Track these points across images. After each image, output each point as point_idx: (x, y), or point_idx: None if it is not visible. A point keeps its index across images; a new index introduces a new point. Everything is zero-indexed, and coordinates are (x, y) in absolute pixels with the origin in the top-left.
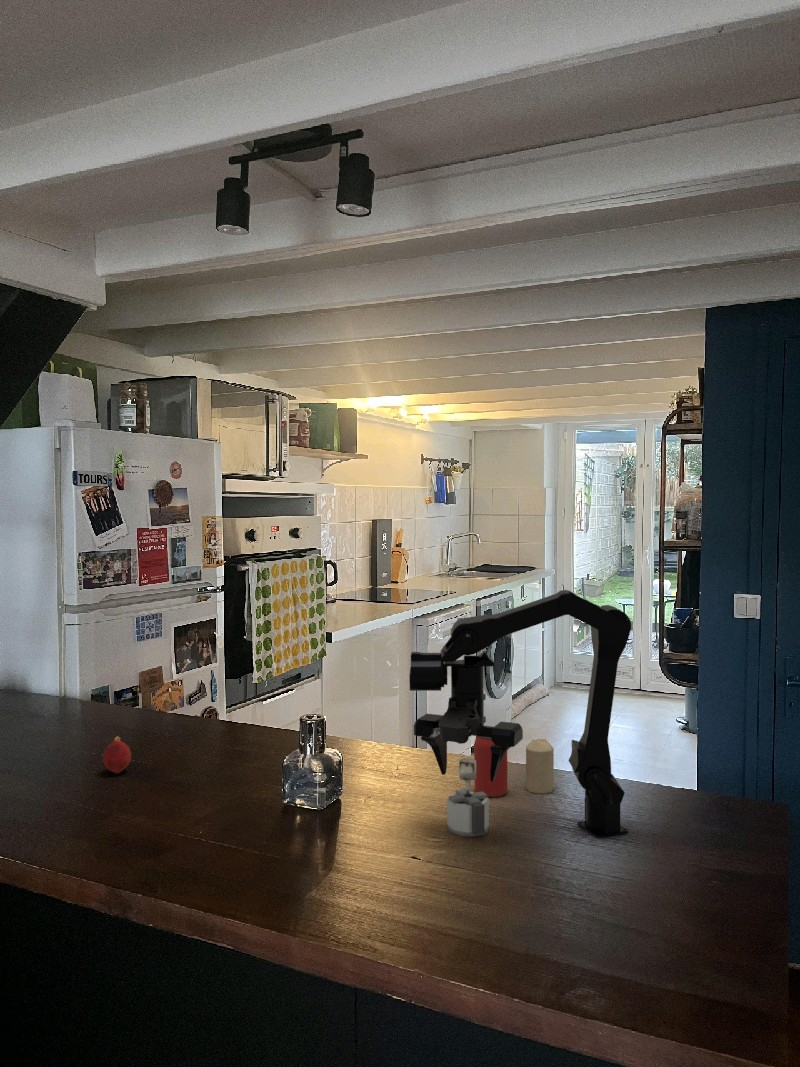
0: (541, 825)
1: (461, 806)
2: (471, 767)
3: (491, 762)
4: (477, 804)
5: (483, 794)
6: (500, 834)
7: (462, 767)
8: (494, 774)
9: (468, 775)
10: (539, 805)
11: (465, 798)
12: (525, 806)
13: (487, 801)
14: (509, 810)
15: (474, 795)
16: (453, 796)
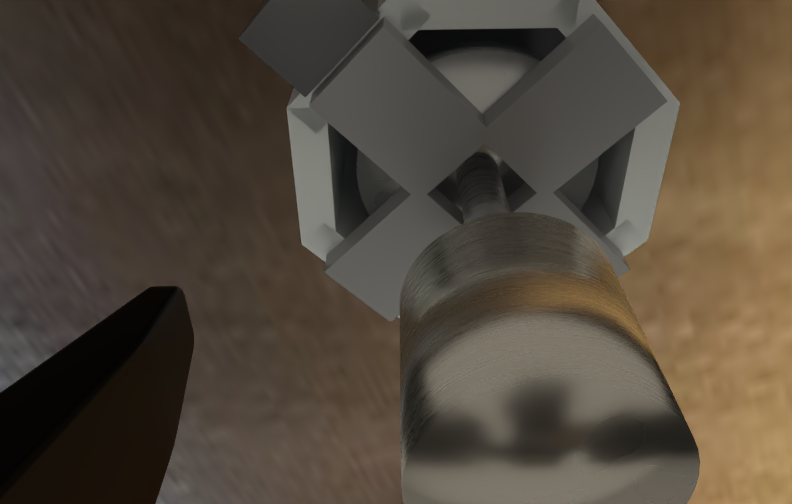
0: (80, 294)
1: None
2: (439, 364)
3: (6, 476)
4: (312, 27)
5: (354, 268)
6: (220, 81)
7: (595, 328)
8: (77, 341)
9: (473, 263)
10: (220, 483)
11: (485, 125)
12: (274, 456)
13: (299, 205)
14: (326, 396)
15: (421, 216)
16: (617, 114)
